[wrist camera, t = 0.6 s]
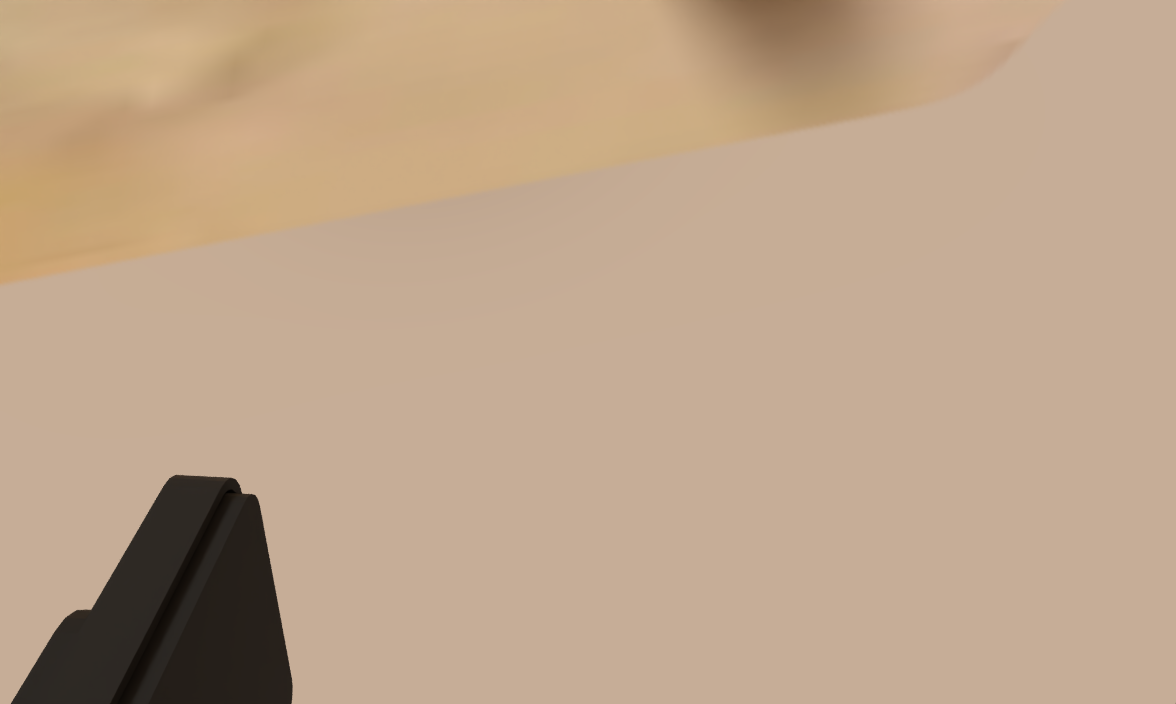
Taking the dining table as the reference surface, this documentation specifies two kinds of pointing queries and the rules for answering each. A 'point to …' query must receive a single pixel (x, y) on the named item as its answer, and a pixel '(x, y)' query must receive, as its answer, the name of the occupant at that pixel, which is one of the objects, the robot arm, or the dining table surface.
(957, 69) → the dining table surface
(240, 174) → the dining table surface
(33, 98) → the dining table surface
